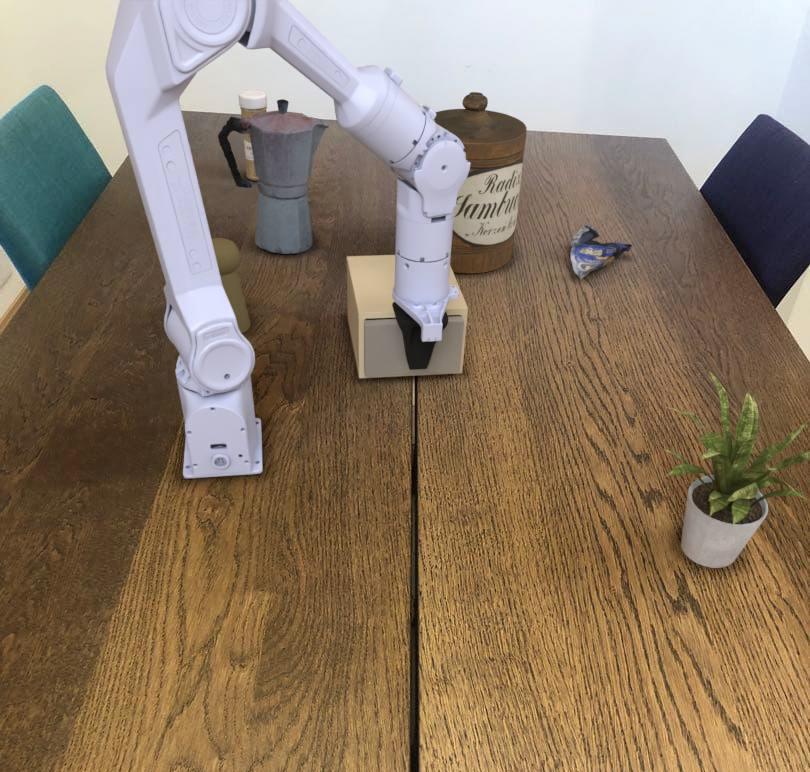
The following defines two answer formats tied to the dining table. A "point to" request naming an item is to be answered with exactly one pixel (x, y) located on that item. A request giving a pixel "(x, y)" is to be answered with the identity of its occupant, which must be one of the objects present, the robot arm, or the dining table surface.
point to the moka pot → (279, 174)
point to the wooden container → (485, 184)
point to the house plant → (730, 486)
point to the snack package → (593, 251)
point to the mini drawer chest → (382, 300)
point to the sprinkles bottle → (249, 106)
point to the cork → (231, 279)
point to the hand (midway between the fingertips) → (417, 366)
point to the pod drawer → (389, 352)
